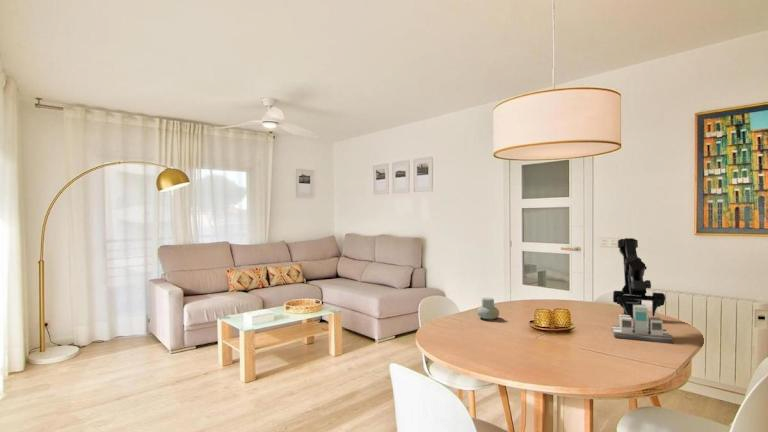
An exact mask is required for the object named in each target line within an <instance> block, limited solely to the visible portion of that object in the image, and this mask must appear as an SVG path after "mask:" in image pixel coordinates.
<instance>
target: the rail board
mask: <svg viewBox="0 0 768 432" xmlns="http://www.w3.org/2000/svg"><path fill="white" fill-rule="evenodd" d="M647 319H648V334H638V333H635V332H634V330H633V318H631V316H630V315H622V313H621V314H619V325H618V324H611V330H612V333H613V337H614V338H615V339H623V340H633V341H644V342H655V343H663V344H664V343H665V344H674V340H673V336H671V335H670V333H669V332H668V330H667V329H666V328H663V324H664V323H663V320H662V319H661V317H660V316H659V317H657V316H647Z"/></svg>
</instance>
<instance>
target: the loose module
mask: <svg viewBox="0 0 768 432" xmlns="http://www.w3.org/2000/svg"><path fill="white" fill-rule="evenodd" d="M632 327H633V330H634V332H635V333H638V334H648V307H647V305H646V304H642V305H638V304H633V318H632Z"/></svg>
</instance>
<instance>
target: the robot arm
mask: <svg viewBox="0 0 768 432" xmlns="http://www.w3.org/2000/svg"><path fill="white" fill-rule="evenodd" d="M617 248H618V251H619V253H620V254H621V255H622V257H623V258H622V259H623V273H624V275H623V276H624V285H623V287H622V288H621V290H614V291H612V294H613V295H612V302H613V303H616V304H617V305H619V306H620V307H621V308H622V309H623V313H621V315H630V316H631V318H632V319H633V304H638V305H643V304H642V303H643V301H647V302H648V301H649V302H652V304H651V308H652V309H651V312H652V313H651V314H652V317H655V314H656V311H657V309H658V308H659V307H661V306H664V305H665V301H666V294H664V293H663V292H653V293H652V295H647V289H651V288H652V282H651V280H650V279H649V280H647V279H646V280H644V276H645V271H646V270H647V266H646V264H645V262H644V261H642V258H640V257H639V256H638V254H637V248H639V242H638V239H636V238H633V237H625V238H620V239H618V240H617Z"/></svg>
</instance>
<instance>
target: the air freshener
mask: <svg viewBox="0 0 768 432" xmlns="http://www.w3.org/2000/svg"><path fill="white" fill-rule="evenodd" d="M476 313H477V316H478V317H480V318H481V319H483V320H488V321H493V320H495V319H496V318H498V317H499V316H500V310H499V309H498V308H497V307H496V306H495V299H494V298H493V297H482V298H481V306H480V307H479V308H478V309H477V310H476Z"/></svg>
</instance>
